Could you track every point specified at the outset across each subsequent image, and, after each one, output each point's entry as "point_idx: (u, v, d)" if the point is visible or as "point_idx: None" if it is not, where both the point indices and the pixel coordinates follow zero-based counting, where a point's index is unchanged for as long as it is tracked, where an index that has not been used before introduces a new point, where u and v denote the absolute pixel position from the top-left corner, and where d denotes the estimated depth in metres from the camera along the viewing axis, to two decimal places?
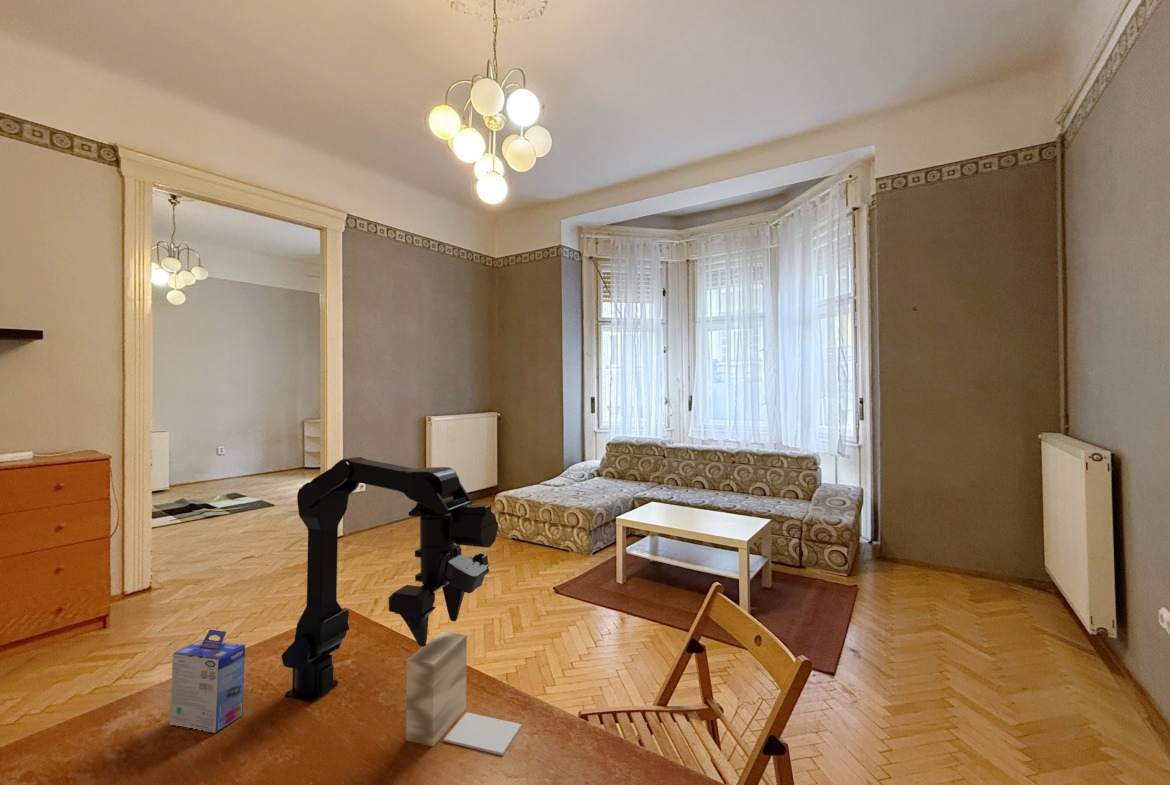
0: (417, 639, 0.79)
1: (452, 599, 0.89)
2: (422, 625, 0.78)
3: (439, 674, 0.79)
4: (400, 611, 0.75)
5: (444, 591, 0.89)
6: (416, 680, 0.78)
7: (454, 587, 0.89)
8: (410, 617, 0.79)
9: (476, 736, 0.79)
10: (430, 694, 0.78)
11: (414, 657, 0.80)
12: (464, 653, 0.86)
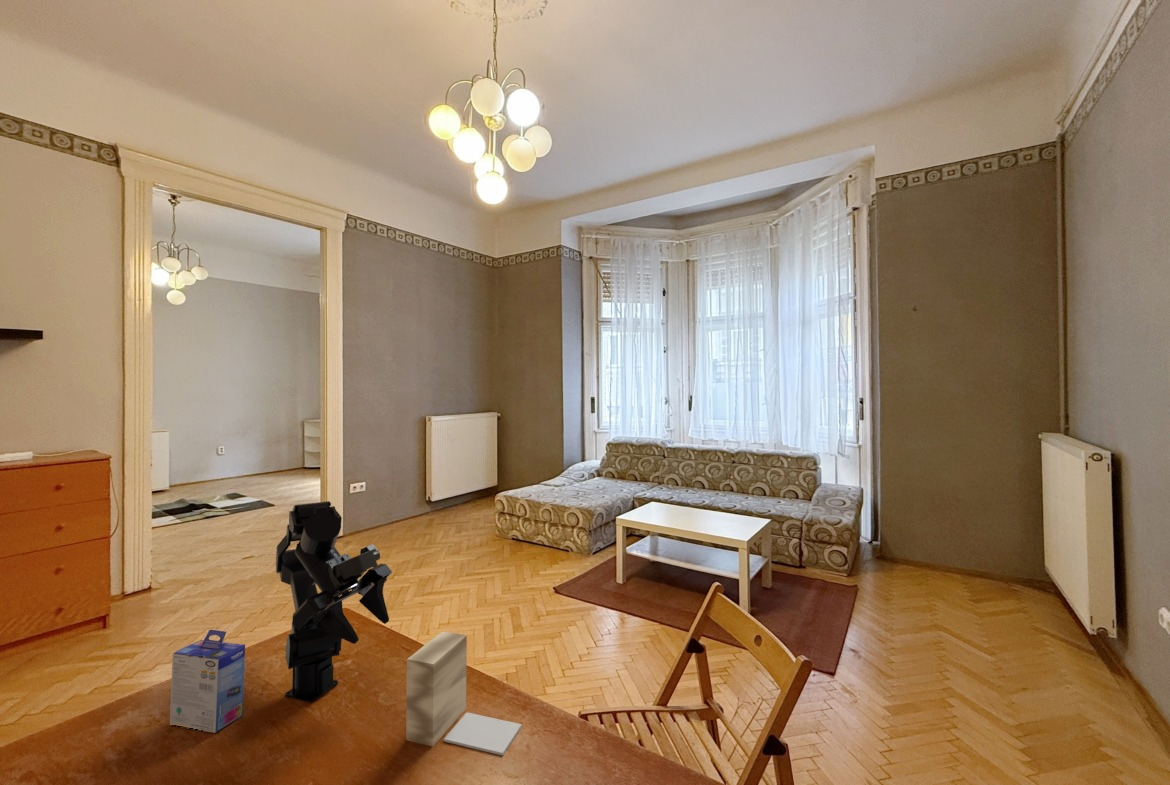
0: (348, 639, 0.83)
1: (375, 606, 0.92)
2: (340, 622, 0.83)
3: (439, 674, 0.79)
4: (304, 621, 0.80)
5: (366, 606, 0.93)
6: (416, 680, 0.78)
7: (370, 596, 0.92)
8: (329, 625, 0.83)
9: (476, 736, 0.79)
10: (430, 694, 0.78)
11: (414, 657, 0.79)
12: (464, 653, 0.86)
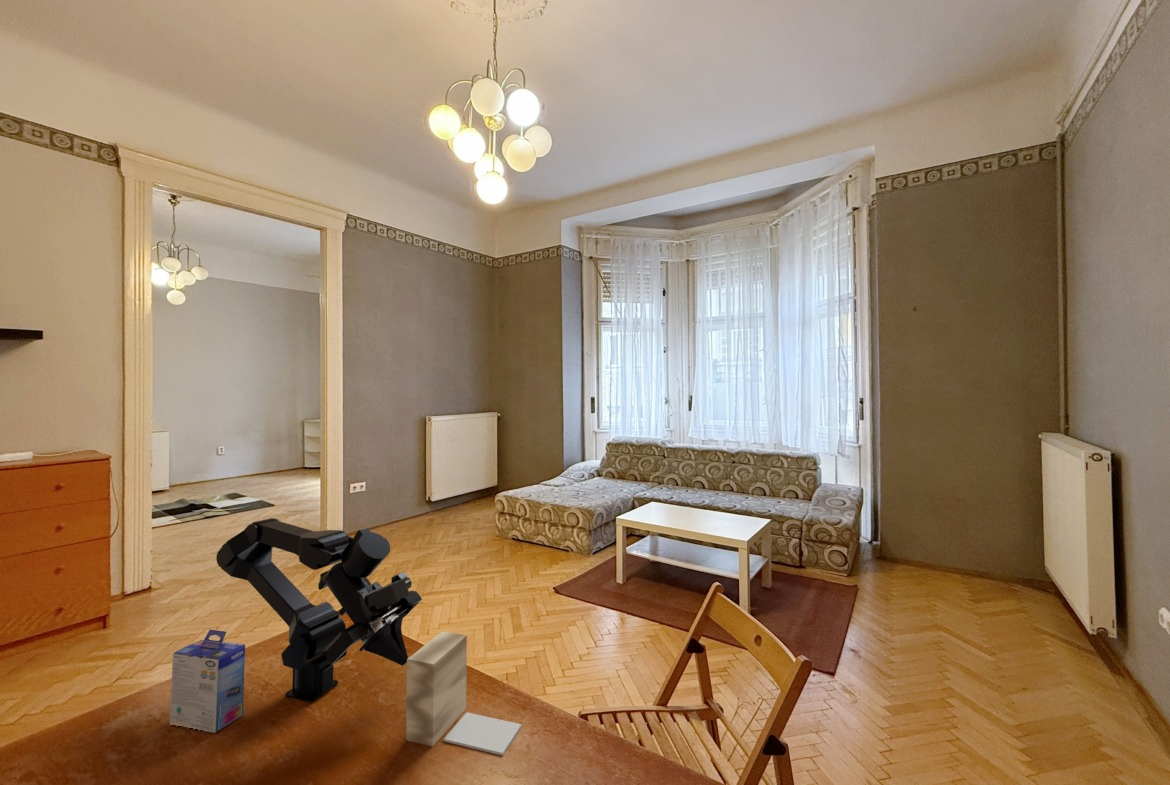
0: (396, 661, 0.85)
1: None
2: (389, 644, 0.84)
3: (439, 674, 0.79)
4: (338, 655, 0.78)
5: None
6: (416, 680, 0.78)
7: None
8: (378, 647, 0.85)
9: (476, 736, 0.79)
10: (430, 694, 0.78)
11: (414, 657, 0.80)
12: (464, 654, 0.86)
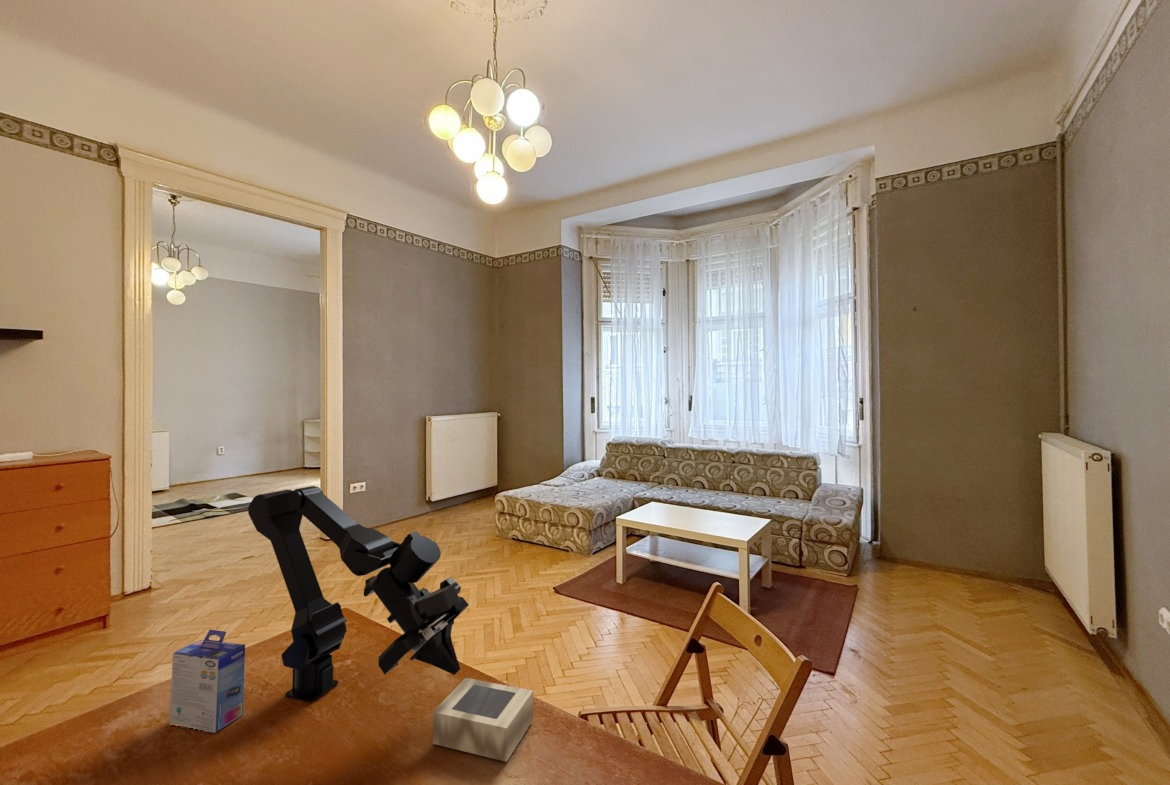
0: (448, 670, 0.82)
1: None
2: (440, 652, 0.81)
3: None
4: (391, 665, 0.75)
5: None
6: (488, 736, 0.74)
7: None
8: (428, 655, 0.82)
9: None
10: (478, 751, 0.75)
11: (509, 730, 0.74)
12: None
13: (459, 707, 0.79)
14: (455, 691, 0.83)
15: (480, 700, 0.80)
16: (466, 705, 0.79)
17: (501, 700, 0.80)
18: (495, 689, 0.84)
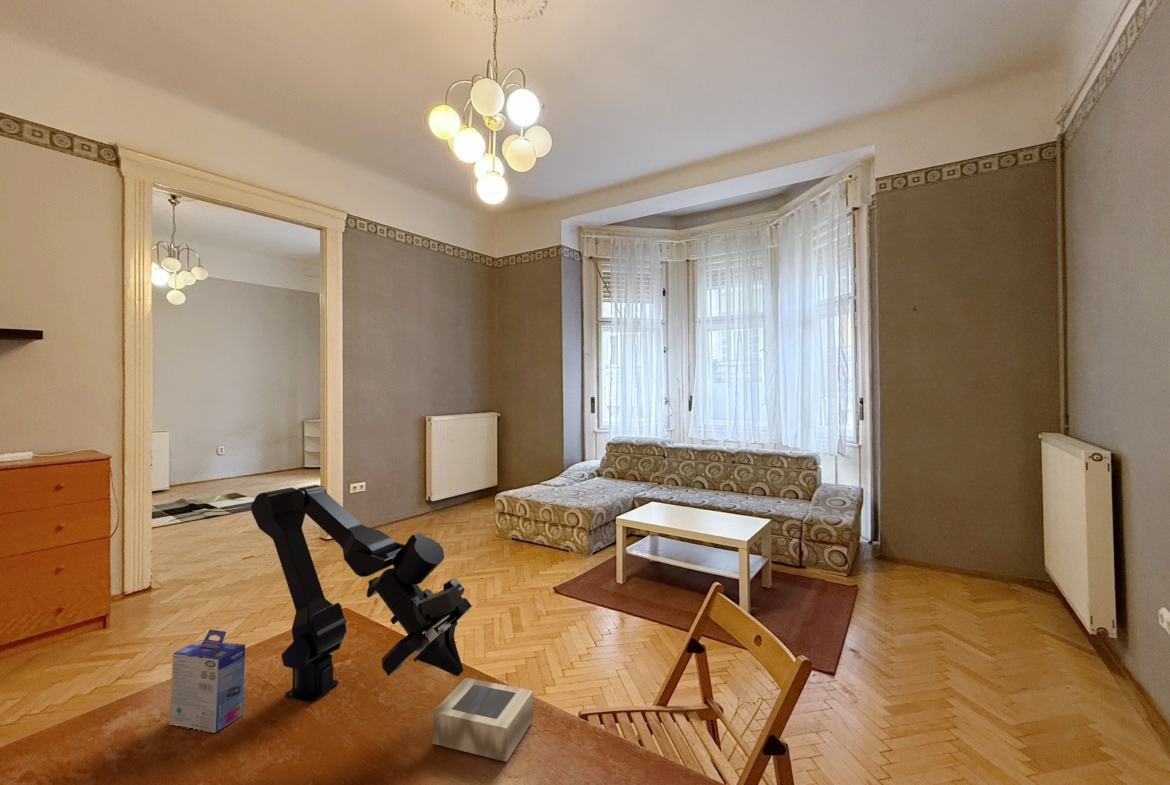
0: (451, 671, 0.81)
1: None
2: (444, 654, 0.81)
3: None
4: (395, 666, 0.75)
5: None
6: (488, 736, 0.74)
7: None
8: (432, 657, 0.81)
9: None
10: (478, 751, 0.75)
11: (509, 730, 0.74)
12: None
13: (459, 707, 0.79)
14: (455, 691, 0.83)
15: (480, 700, 0.80)
16: (466, 705, 0.79)
17: (501, 700, 0.80)
18: (495, 689, 0.84)
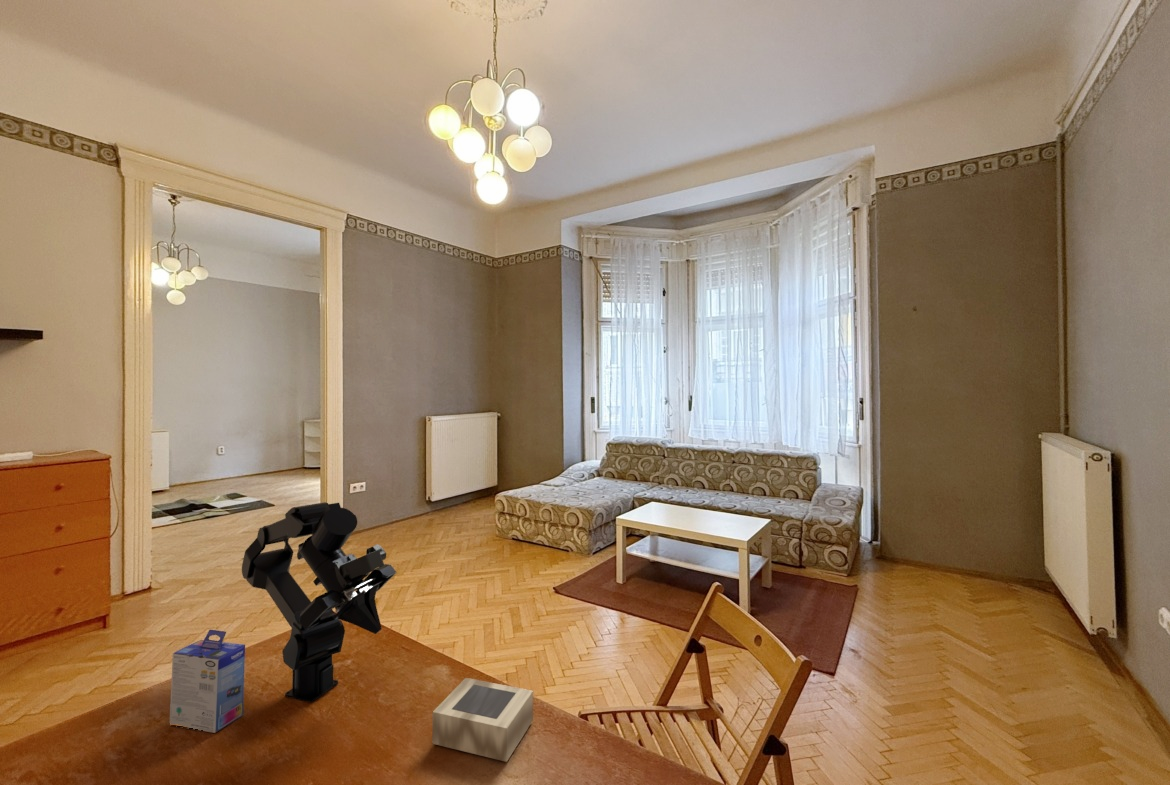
0: (369, 629, 0.87)
1: None
2: (362, 612, 0.86)
3: None
4: (311, 620, 0.80)
5: None
6: (488, 736, 0.74)
7: None
8: (351, 616, 0.87)
9: None
10: (478, 751, 0.75)
11: (509, 730, 0.74)
12: None
13: (459, 707, 0.79)
14: (455, 691, 0.83)
15: (480, 700, 0.80)
16: (466, 705, 0.79)
17: (501, 700, 0.80)
18: (495, 689, 0.84)
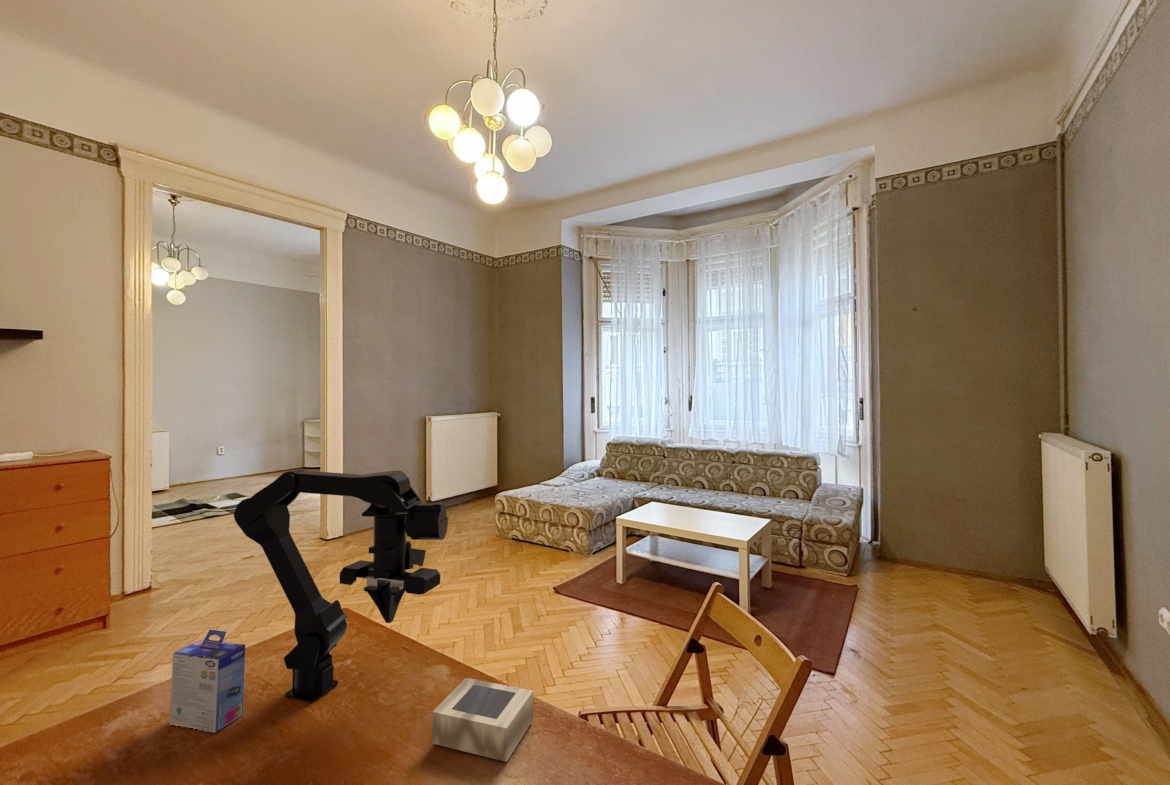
0: (391, 617, 0.91)
1: None
2: (400, 598, 0.93)
3: None
4: (430, 588, 0.89)
5: (380, 599, 0.90)
6: (488, 736, 0.74)
7: None
8: (392, 598, 0.90)
9: None
10: (478, 751, 0.75)
11: (509, 730, 0.74)
12: None
13: (459, 707, 0.79)
14: (455, 691, 0.83)
15: (480, 700, 0.80)
16: (466, 705, 0.79)
17: (501, 700, 0.80)
18: (495, 689, 0.84)
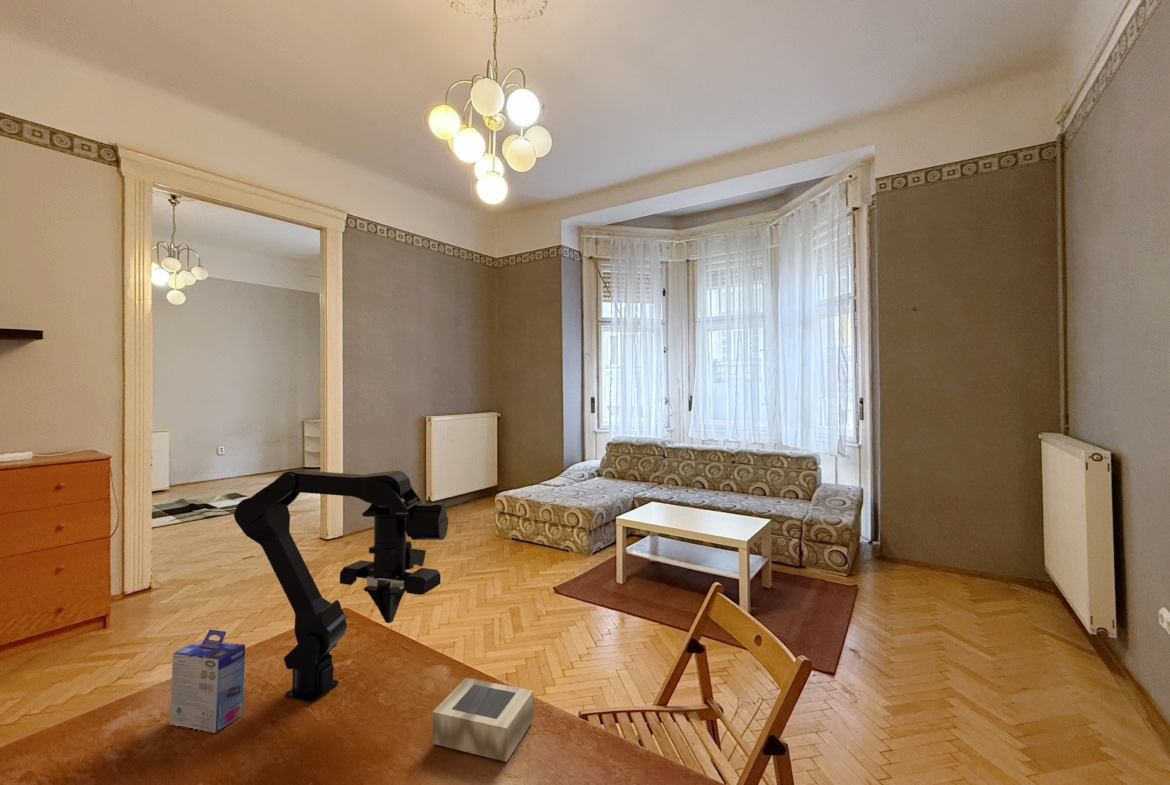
0: (391, 617, 0.91)
1: None
2: (400, 598, 0.93)
3: None
4: (431, 588, 0.89)
5: (380, 599, 0.90)
6: (488, 736, 0.74)
7: None
8: None
9: None
10: (478, 751, 0.75)
11: (509, 730, 0.74)
12: None
13: (459, 707, 0.79)
14: (455, 691, 0.83)
15: (480, 700, 0.80)
16: (466, 705, 0.79)
17: (501, 700, 0.80)
18: (495, 689, 0.84)
